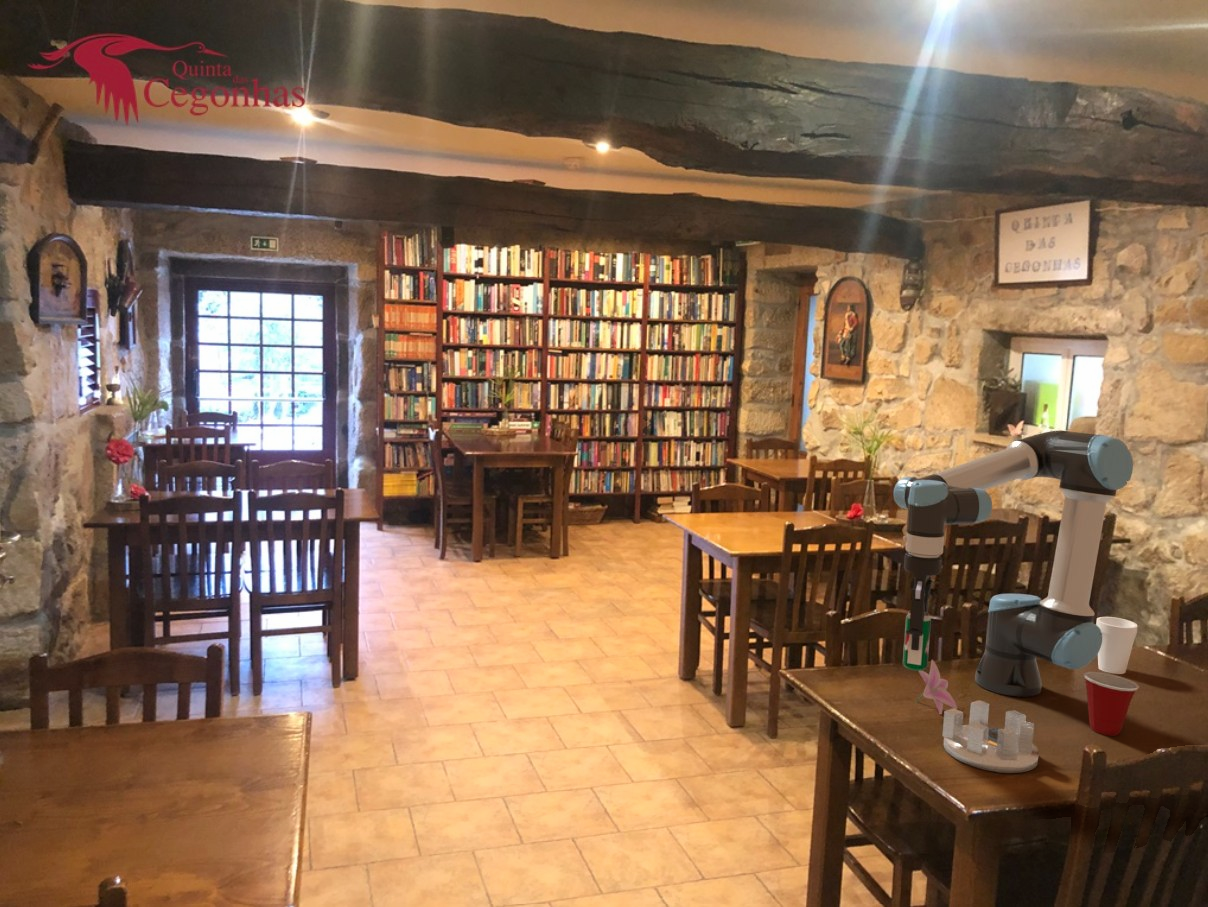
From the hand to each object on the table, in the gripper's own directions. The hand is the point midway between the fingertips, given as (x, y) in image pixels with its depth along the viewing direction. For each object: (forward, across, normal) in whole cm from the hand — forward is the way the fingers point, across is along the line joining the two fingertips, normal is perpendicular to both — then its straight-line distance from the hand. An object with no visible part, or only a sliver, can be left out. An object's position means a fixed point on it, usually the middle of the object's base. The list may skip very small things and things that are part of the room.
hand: (915, 659), depth 196 cm
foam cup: (+17, -68, +44) cm, 83 cm away
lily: (+17, -17, +3) cm, 25 cm away
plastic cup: (+17, -23, +39) cm, 48 cm away
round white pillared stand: (+17, +3, +16) cm, 23 cm away
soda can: (+2, 0, 0) cm, 2 cm away
